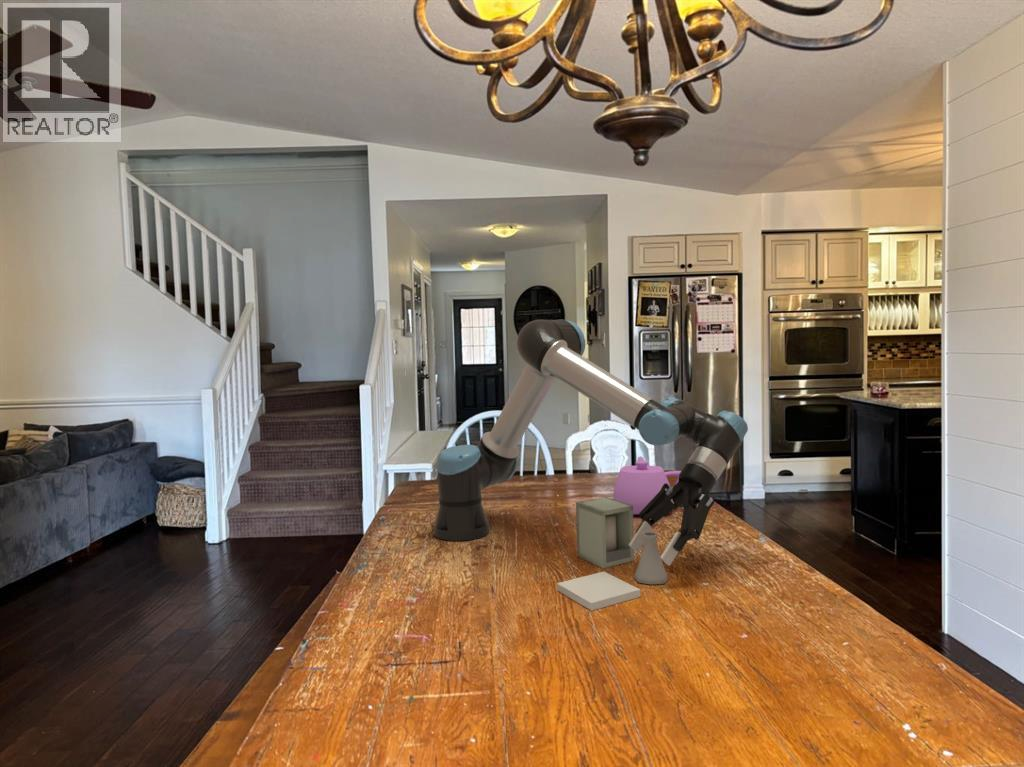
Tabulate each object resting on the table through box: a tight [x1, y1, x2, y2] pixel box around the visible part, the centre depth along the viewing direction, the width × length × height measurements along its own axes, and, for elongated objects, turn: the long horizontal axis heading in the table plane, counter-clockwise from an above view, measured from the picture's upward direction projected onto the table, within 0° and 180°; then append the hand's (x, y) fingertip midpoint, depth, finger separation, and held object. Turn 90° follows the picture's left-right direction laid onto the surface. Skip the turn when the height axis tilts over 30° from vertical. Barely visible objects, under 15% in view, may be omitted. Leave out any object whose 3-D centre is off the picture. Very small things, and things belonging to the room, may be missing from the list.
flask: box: [633, 531, 669, 585], centre depth 135 cm, size 7×7×10 cm
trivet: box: [556, 571, 641, 611], centre depth 129 cm, size 12×12×2 cm
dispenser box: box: [575, 496, 635, 569], centre depth 149 cm, size 10×9×13 cm
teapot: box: [612, 456, 682, 516], centre depth 191 cm, size 23×21×15 cm
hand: (648, 555), depth 135 cm, fingers open, 9 cm apart
